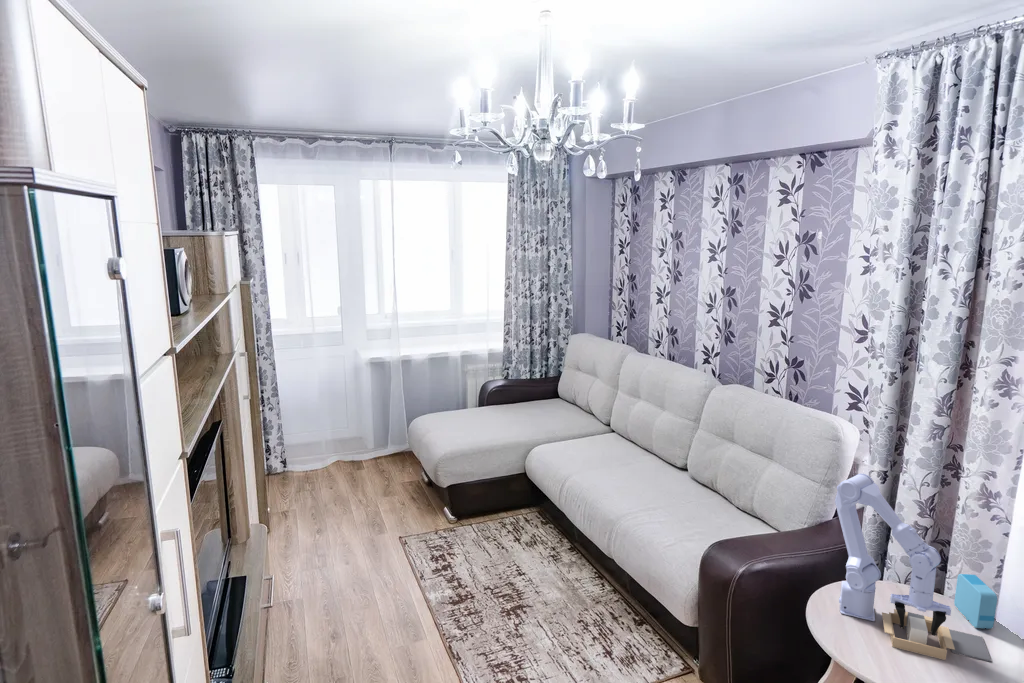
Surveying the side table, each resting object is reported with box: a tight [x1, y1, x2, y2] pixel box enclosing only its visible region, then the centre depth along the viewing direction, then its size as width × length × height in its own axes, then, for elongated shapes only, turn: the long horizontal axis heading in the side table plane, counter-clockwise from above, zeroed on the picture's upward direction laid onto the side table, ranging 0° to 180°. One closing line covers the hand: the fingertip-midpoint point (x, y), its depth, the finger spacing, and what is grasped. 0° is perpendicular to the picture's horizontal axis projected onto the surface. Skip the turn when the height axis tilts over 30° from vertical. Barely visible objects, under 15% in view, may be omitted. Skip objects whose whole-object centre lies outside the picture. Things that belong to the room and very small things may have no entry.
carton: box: [881, 608, 955, 661], centre depth 178 cm, size 17×15×3 cm
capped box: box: [905, 611, 929, 645], centre depth 177 cm, size 4×8×6 cm, turn 153°
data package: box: [953, 573, 998, 630], centre depth 186 cm, size 12×4×12 cm, turn 173°
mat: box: [949, 629, 992, 663], centre depth 175 cm, size 9×11×1 cm
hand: (917, 629), depth 177 cm, fingers open, 7 cm apart
